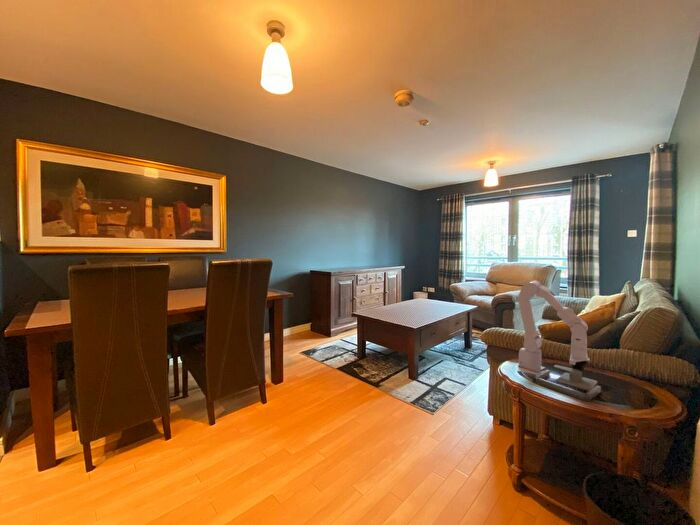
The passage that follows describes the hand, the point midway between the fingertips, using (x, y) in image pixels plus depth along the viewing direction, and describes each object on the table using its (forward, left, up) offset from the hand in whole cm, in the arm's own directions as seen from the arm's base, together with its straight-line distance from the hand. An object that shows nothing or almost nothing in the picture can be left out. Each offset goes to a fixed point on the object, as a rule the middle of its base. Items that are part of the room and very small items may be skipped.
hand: (578, 376), depth 134 cm
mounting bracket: (0, -13, -1) cm, 13 cm away
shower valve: (0, -4, -2) cm, 4 cm away
